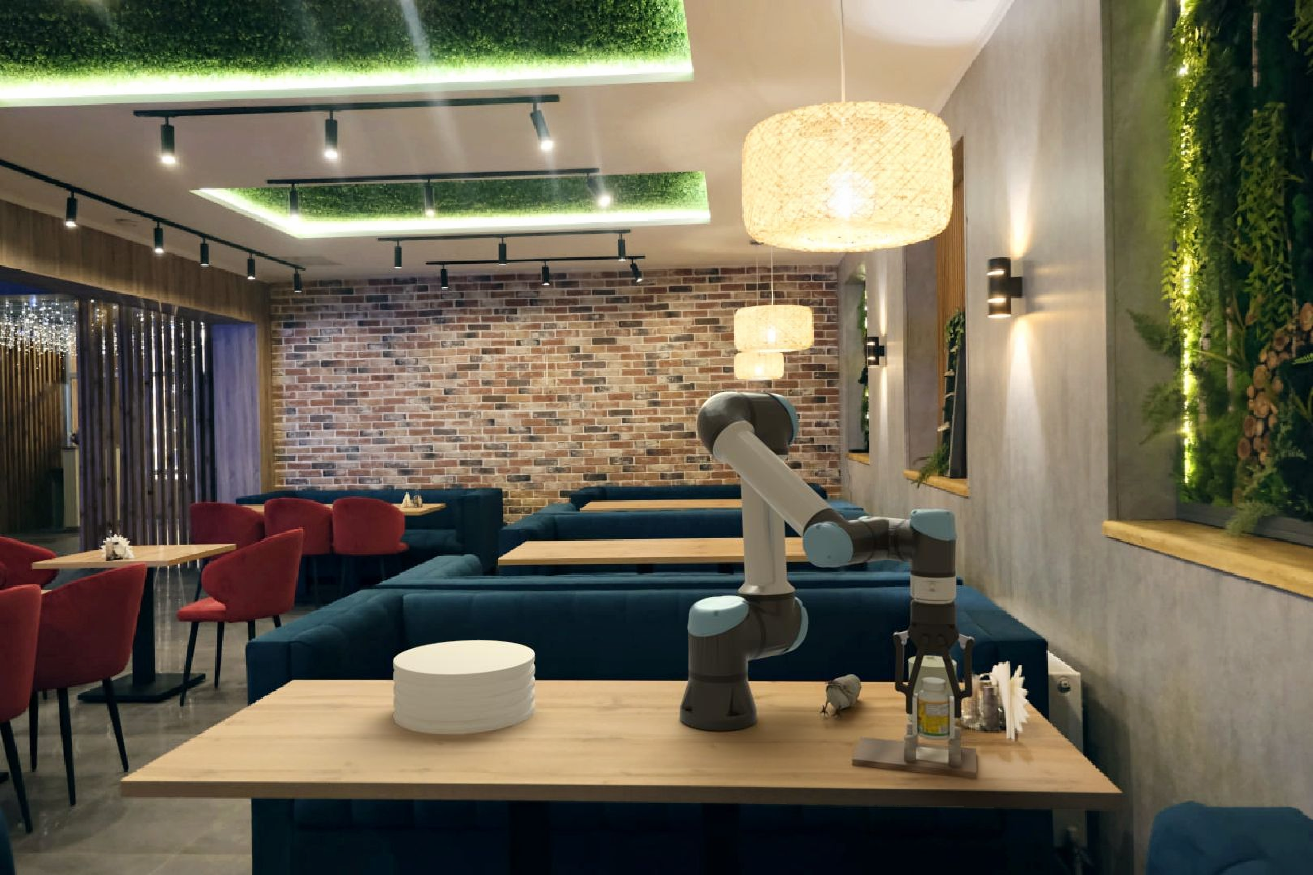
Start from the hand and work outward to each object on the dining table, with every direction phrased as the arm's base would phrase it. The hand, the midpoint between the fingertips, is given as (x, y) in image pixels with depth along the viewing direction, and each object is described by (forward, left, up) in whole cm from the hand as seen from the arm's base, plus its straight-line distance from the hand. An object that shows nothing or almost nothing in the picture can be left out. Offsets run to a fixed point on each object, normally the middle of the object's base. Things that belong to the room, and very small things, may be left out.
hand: (933, 734), depth 161 cm
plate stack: (-91, 0, -5) cm, 91 cm away
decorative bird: (-19, +26, -5) cm, 32 cm away
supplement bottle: (0, 0, 0) cm, 0 cm away
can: (-1, +24, -5) cm, 25 cm away
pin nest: (-3, 0, -5) cm, 6 cm away
